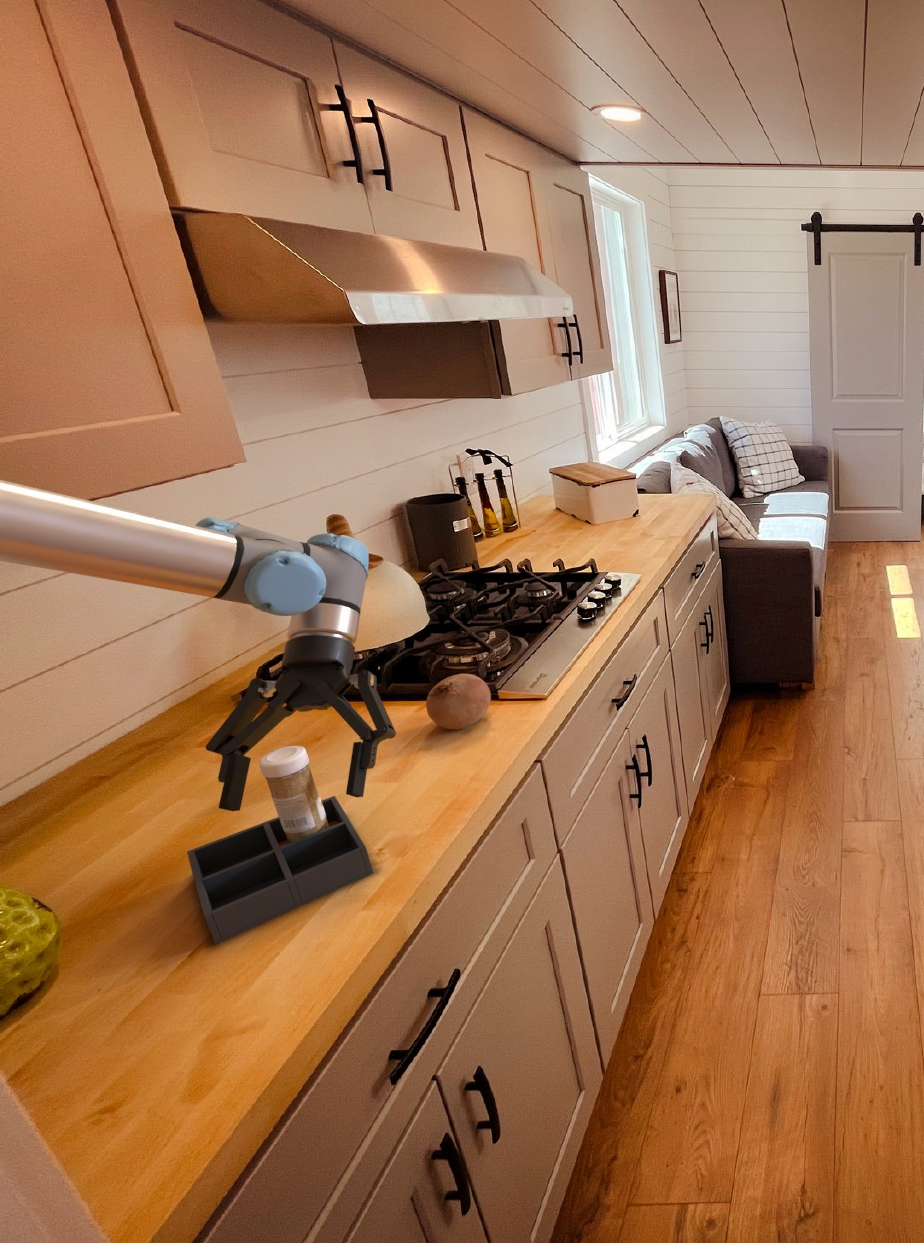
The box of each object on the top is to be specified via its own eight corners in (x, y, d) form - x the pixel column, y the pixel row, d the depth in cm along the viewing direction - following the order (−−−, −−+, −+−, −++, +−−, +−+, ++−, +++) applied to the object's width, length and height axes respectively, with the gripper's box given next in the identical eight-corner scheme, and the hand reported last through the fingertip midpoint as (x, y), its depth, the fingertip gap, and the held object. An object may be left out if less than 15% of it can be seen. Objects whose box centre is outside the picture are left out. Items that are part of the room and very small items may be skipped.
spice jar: (341, 831, 93) (314, 744, 89) (315, 855, 89) (285, 765, 84) (307, 831, 93) (278, 743, 89) (279, 855, 89) (247, 764, 84)
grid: (215, 945, 77) (204, 917, 76) (197, 877, 86) (186, 851, 85) (373, 873, 87) (366, 847, 86) (342, 819, 97) (334, 795, 95)
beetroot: (455, 751, 118) (421, 718, 110) (438, 716, 123) (405, 682, 116) (509, 717, 121) (480, 683, 114) (491, 685, 127) (462, 650, 119)
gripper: (433, 644, 102) (416, 794, 94) (233, 659, 97) (196, 819, 88) (411, 625, 95) (391, 784, 87) (195, 640, 90) (151, 811, 82)
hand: (292, 802), depth 88 cm, fingers open, 13 cm apart
